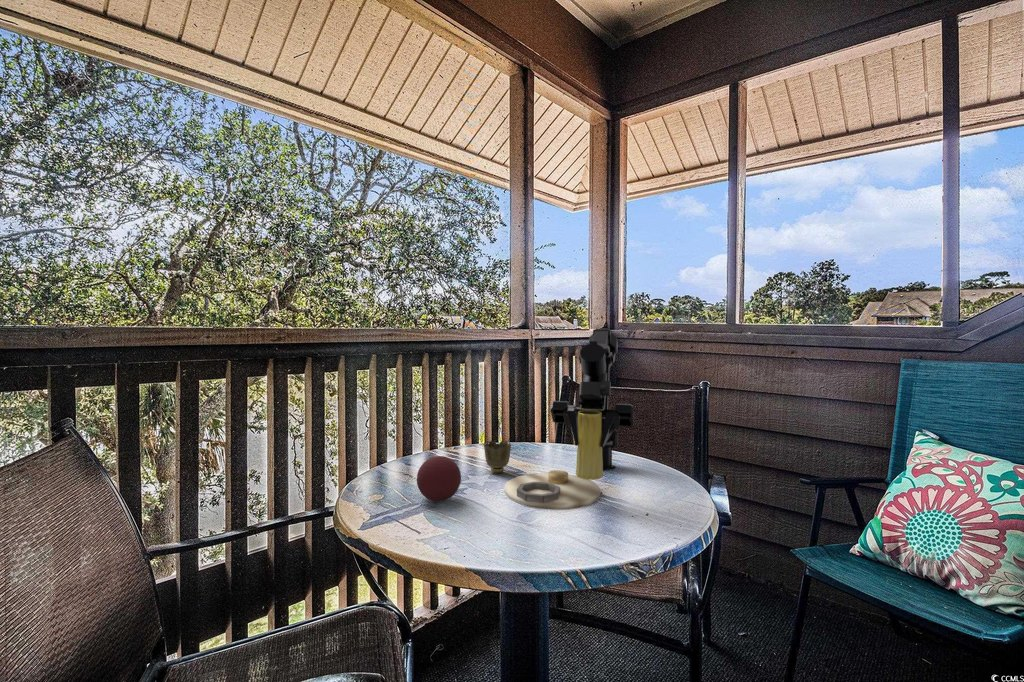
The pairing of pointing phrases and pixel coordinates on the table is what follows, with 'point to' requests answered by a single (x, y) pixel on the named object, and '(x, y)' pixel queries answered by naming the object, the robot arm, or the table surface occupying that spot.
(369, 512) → the table surface
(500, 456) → the cup
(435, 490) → the decorative ball
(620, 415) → the robot arm
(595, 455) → the vase
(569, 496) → the disc
